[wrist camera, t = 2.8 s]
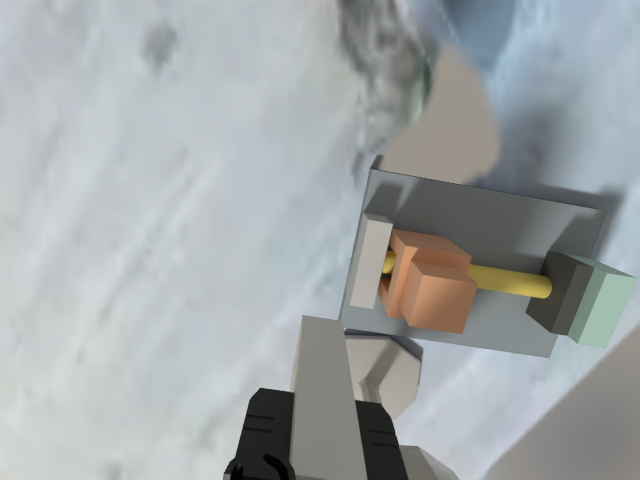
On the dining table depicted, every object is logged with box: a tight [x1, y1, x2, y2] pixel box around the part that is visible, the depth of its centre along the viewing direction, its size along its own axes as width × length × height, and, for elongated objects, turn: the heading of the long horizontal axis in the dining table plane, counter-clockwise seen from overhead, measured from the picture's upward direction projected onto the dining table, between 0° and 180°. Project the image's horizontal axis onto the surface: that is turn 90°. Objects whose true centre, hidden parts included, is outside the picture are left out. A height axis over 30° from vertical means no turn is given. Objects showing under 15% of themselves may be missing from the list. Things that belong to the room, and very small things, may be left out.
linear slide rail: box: [338, 168, 637, 358], centre depth 25 cm, size 12×17×5 cm
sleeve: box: [377, 228, 478, 334], centre depth 22 cm, size 5×4×7 cm
